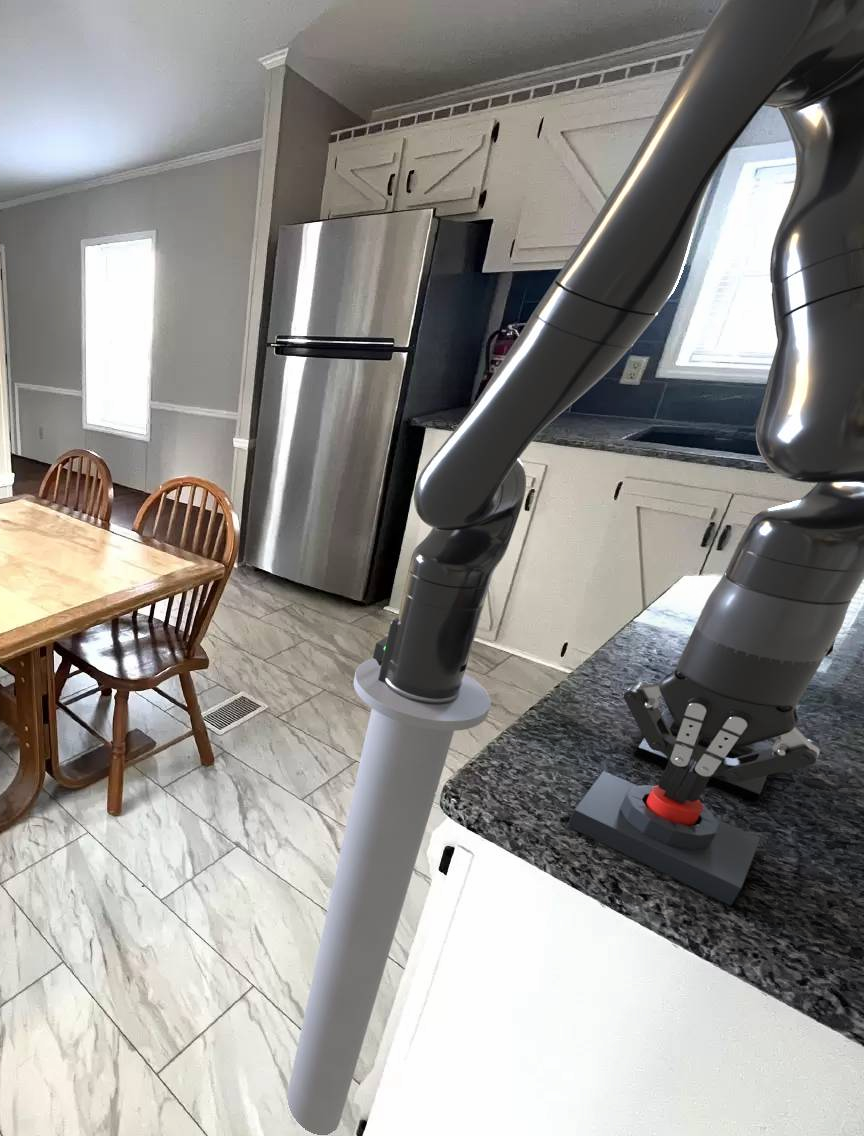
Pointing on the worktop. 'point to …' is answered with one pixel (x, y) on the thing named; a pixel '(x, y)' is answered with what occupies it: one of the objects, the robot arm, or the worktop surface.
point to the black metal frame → (742, 789)
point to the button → (673, 808)
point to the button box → (666, 838)
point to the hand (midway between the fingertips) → (675, 796)
